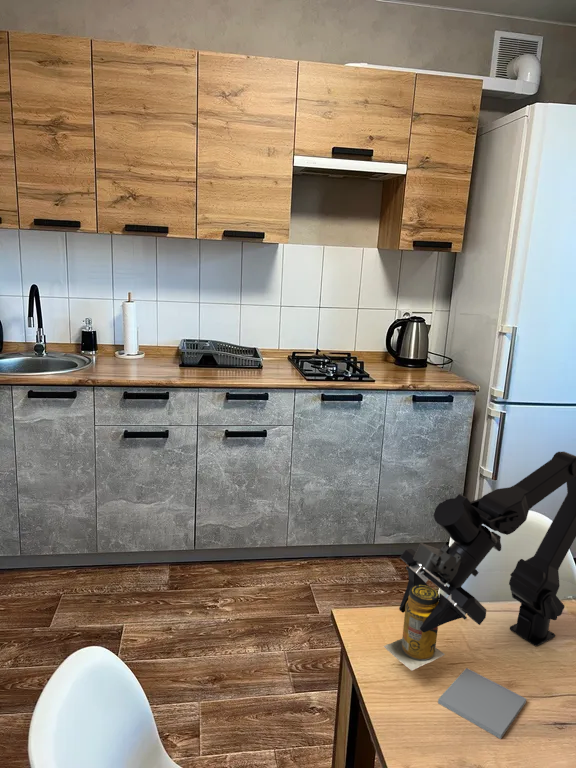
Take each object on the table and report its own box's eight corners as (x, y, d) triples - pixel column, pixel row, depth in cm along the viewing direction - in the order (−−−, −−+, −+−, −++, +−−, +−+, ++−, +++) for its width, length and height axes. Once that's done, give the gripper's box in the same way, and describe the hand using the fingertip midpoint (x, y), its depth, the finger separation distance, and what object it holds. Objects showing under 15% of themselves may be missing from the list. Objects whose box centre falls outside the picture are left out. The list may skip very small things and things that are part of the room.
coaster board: (466, 671, 109) (466, 667, 109) (525, 702, 102) (526, 698, 102) (437, 703, 101) (438, 698, 101) (500, 739, 94) (501, 734, 94)
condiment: (445, 655, 107) (452, 596, 105) (411, 671, 103) (417, 610, 100) (416, 633, 113) (421, 576, 111) (383, 647, 109) (388, 589, 106)
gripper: (412, 508, 113) (358, 572, 111) (480, 555, 96) (419, 630, 94) (441, 540, 118) (390, 601, 116) (511, 588, 101) (453, 661, 99)
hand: (410, 620), depth 106 cm, fingers closed on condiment, 6 cm apart
